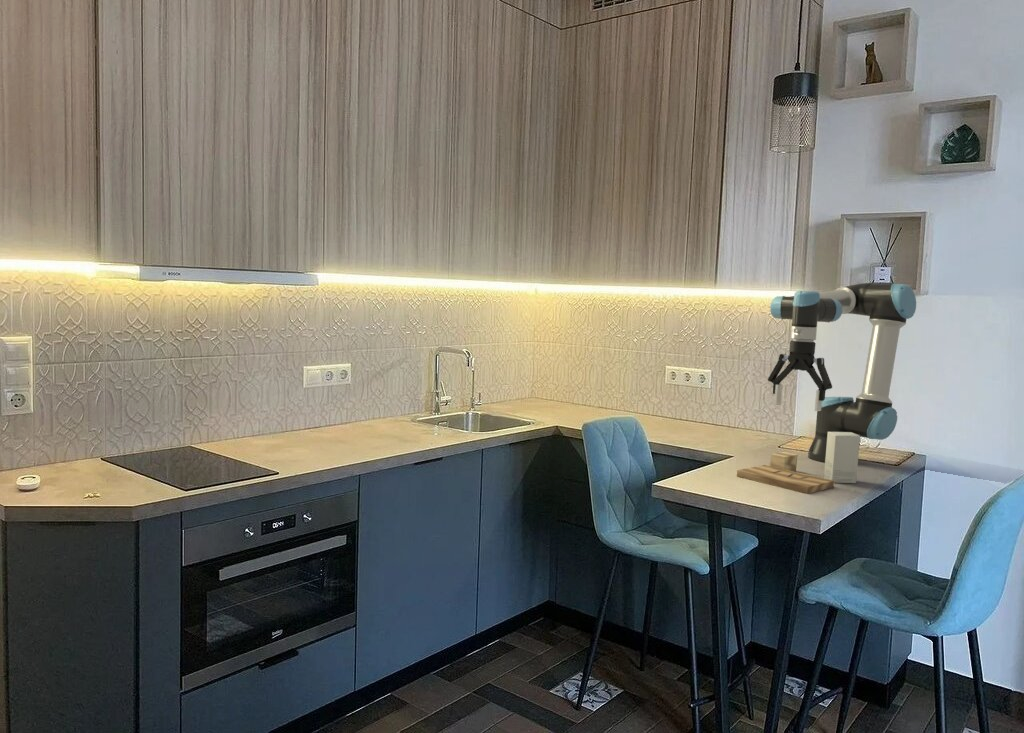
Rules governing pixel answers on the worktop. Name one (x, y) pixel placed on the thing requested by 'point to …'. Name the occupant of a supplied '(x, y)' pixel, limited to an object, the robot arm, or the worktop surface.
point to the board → (785, 479)
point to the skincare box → (842, 457)
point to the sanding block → (784, 461)
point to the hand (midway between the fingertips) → (797, 407)
